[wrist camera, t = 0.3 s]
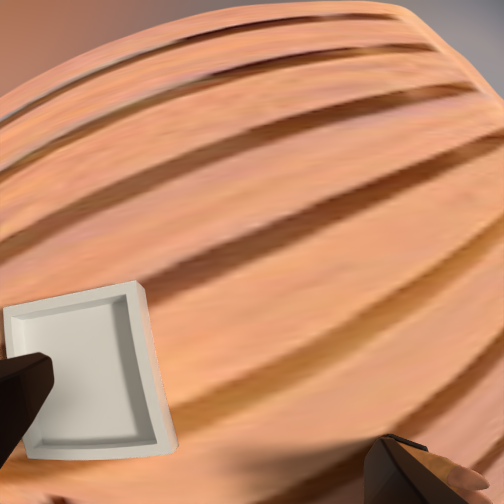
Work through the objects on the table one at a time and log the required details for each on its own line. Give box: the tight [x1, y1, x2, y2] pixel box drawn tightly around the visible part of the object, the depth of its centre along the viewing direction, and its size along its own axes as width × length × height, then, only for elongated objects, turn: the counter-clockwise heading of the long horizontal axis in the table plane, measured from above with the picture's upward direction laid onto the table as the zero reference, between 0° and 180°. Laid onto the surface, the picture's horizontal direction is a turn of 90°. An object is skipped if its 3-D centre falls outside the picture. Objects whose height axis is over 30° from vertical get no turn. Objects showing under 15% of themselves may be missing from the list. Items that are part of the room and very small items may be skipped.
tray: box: [3, 280, 179, 460], centre depth 19 cm, size 12×12×2 cm
